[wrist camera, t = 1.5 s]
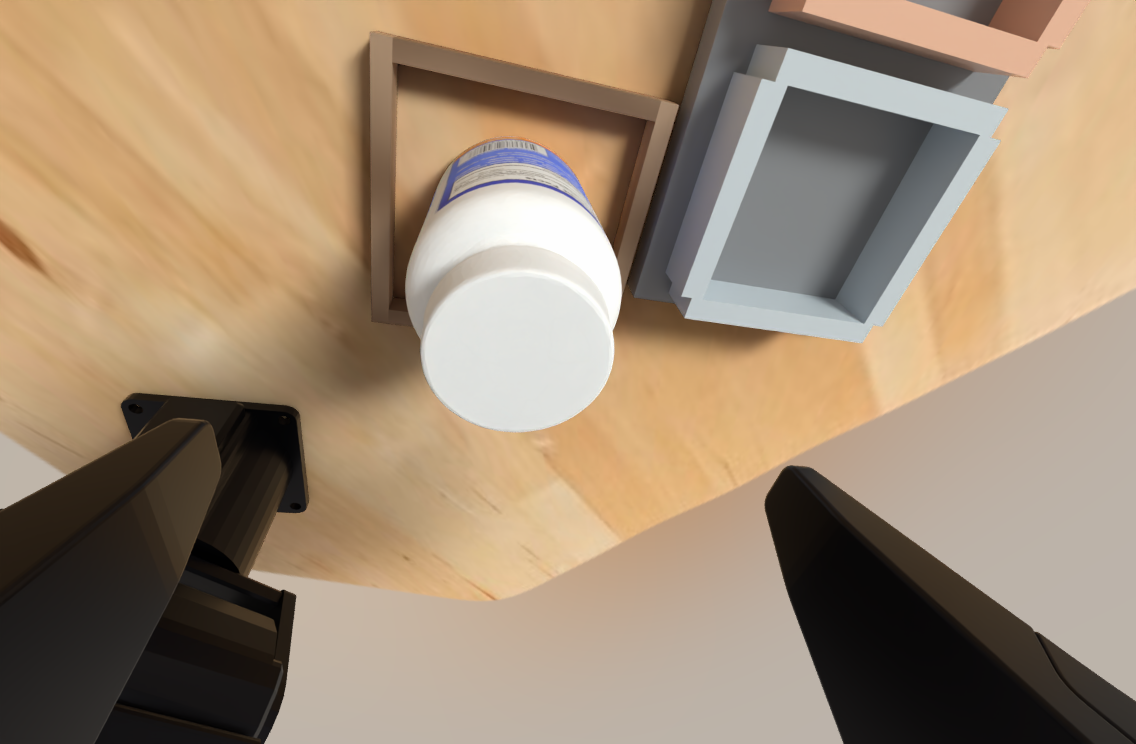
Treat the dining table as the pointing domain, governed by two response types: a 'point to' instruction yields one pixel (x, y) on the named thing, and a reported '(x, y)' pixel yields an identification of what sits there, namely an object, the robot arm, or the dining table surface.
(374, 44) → the tray
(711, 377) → the dining table surface
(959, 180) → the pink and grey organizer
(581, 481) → the dining table surface
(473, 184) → the pill bottle
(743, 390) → the dining table surface
